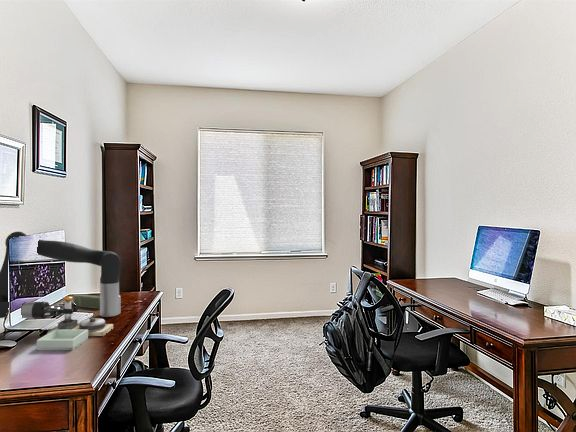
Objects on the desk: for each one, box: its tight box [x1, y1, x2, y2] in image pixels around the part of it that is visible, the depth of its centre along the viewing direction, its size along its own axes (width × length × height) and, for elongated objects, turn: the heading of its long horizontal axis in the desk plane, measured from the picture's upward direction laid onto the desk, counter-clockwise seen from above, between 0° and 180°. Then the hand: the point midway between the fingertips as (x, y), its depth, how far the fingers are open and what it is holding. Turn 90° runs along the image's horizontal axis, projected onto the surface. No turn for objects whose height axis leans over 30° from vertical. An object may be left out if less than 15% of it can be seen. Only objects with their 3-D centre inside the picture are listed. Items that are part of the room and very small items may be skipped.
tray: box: [36, 330, 89, 351], centre depth 169 cm, size 14×14×4 cm
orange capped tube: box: [62, 295, 73, 323], centre depth 184 cm, size 4×4×14 cm
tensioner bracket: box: [46, 317, 114, 337], centre depth 185 cm, size 24×12×6 cm, turn 93°
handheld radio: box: [72, 293, 100, 310], centre depth 229 cm, size 7×3×25 cm
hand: (74, 310), depth 185 cm, fingers closed on orange capped tube, 2 cm apart
